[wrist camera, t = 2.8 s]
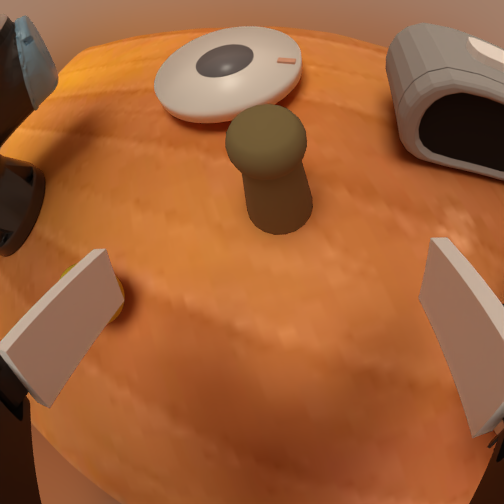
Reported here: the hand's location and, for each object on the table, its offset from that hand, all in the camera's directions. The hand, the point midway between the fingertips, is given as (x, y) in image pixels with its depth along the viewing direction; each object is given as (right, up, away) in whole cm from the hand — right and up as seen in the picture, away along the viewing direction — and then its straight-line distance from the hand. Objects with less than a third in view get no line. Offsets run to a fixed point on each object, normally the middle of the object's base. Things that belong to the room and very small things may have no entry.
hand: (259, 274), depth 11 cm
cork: (+2, +5, +16) cm, 17 cm away
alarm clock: (+24, +13, +14) cm, 31 cm away
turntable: (-3, +23, +20) cm, 30 cm away
